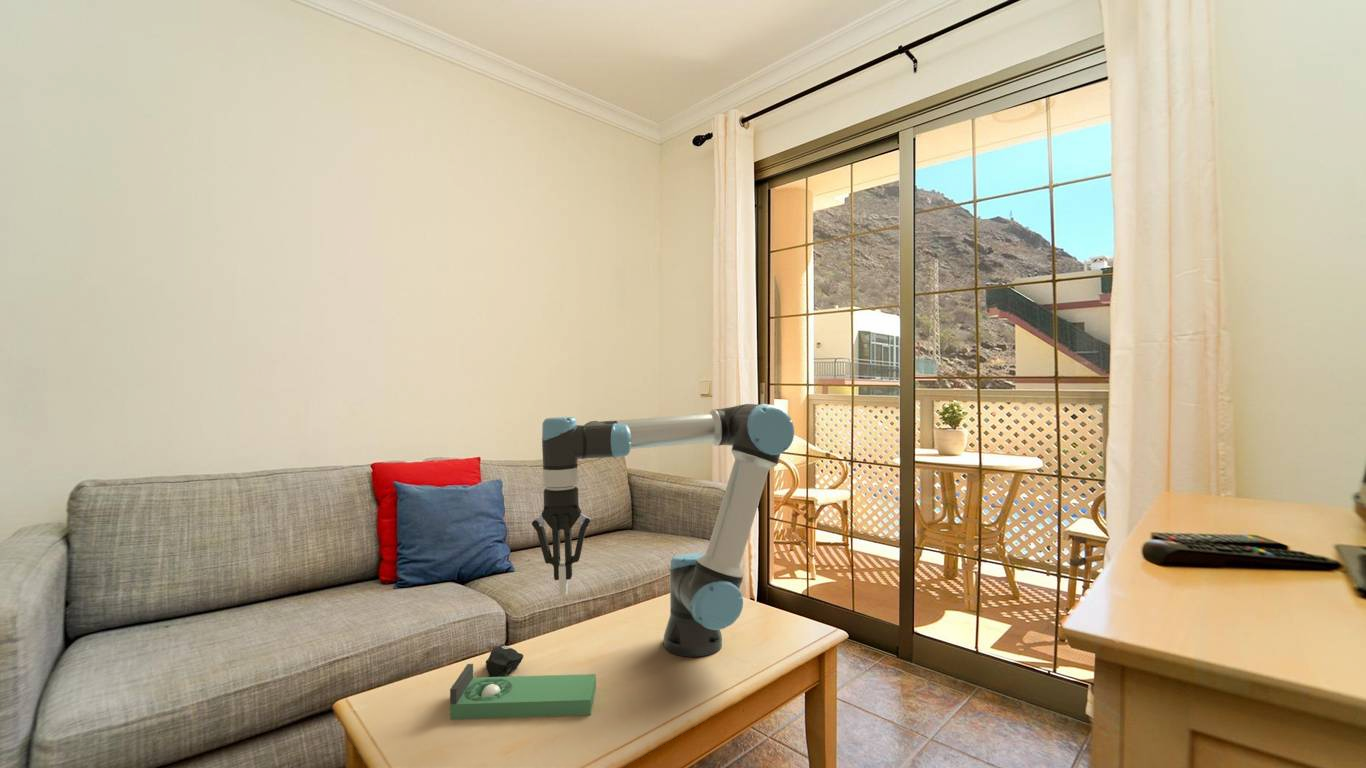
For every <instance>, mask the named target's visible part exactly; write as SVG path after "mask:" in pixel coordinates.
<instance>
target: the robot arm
mask: <svg viewBox="0 0 1366 768" xmlns="http://www.w3.org/2000/svg"><path fill="white" fill-rule="evenodd" d="M541 433H542V434H541V436H542V438H541V447H542V449H541V450H542V451H541V452H542V484H543V487H544V490H543V510H542V512H541V515H540V516H538V518H535V519H534V520H533V521H532V522H531V525H532V527H533V528H534V530H535V532H536V533H537V538H538V541H539V545H540V549H541V552H542V556H543V560H544V562H545V564H547V565H549V564H550V565H552V566H553V579H554V580H555V581H558V592H559V593H558V596H559V597H567V595H568V592H569V590H568V589H569V585H568V581H569V580H572V577H573V564H575V563H578V562H579V561H580V558H581V555H582V554H581V553H582V550H583V544H584V540H585V536H586V532H587V531H586V530H587V528H588V526H589V525H590V523H591V520H592V518H591V516H590V515H585V514H584V513H582V510H581V507H580V506H579V488H578V487H577V485H578V484H579V474H578V473H579V472H578V471H579V469H578V460H579V459H580V460H585V459H600V458H601V459H602V458H603V459H604V458H615V459H616V458H618V457H619V458H620V457H627V456H629V454H630V452H631V450H637V449H647V448H648V449H649V448H659V447H660V448H661V447H671V446H672V447H673V446H682V445H693V444H694V445H697V444H706V443H711V445H713V446H715V447H716V446H718V447H719V446H732V447H731V454H732V455H733V457H734V462H733V464H732V468H731V471H730V475H729V478H728V481H727V485H726V487H725V491H724V494H723V496H722V500H721V504H720V507H719V510H718V514H717V516H716V520H715V523H714V527H713V529H712V533H711V536H710V540H709V543H708V546H707V549H706V552H705V553H702V552H701V553H685V554H683V553H682V554H678V555H675V556H673V557H672V558H671V559H670V563H669V564H670V565H669V566H670V568H669V571H670V573H669V578H670V579H669V584H670V585H669V586H670V587H669V588H670V592H669V593H670V596H669V598H670V603H669V604H670V605H669V606H670V609H669V610H670V611H669V612H670V614H669V618H668V620H667V621H668V622H667V625H666V627H665V630H664V634H663V647H664V649H665V650H666V651H668V652H669V653H671V654H674V655H677V656H681V657H688V658H689V657H693V658H697V657H704V656H705V657H706V656H709V655H712V654H715V653H716V652H718V651H720V649H721V648H722V646H723V636H722V635H723V634H722V632H721V630H724V629H726V628H728V627H729V626H731V625H733V624H734V623H735V622H736V621H737V620H738V619H739V617H740V615H741V613H742V611H743V608H744V607H743V606H744V598H743V595H742V592H741V590H740V589H741V585H742V583H743V578H744V576H745V575H744V573H743V571H742V569H741V563H742V560H743V556H744V553H745V550H746V547H747V543H748V540H749V536H750V533H751V530H752V527H753V523H754V519H755V516H756V514H757V510H758V507H759V503H760V501H761V497H762V493H763V491H764V487H765V484H766V480H767V477H768V473H769V472H770V470H771V469H772V468H775V467H777V466H778V462H779V461H780V460H779V459H780V456H781V454H783V453H785V451H786V450H788V449H789V448H790V446H791V445H792V443H793V441H794V436H795V427H794V423H793V421H792V418H791V417H790V415H789V414H788V413H787V411H786V410H784V409H783V408H781V407H779V406H776V405H773V404H769V403H762V404H754V403H745V404H739V405H734V406H730V407H725V408H717V409H716V408H715V409H714V408H713V409H711V410H710V411H709V412H708V413H699V414H684V415H683V414H682V415H673V416H657V417H644V418H632V419H617V420H604V421H602V420H601V421H598V420H592V421H590V420H589V421H588V422H586V423H585V424H583V425H581V424H578V423H577V419H576V417H573V416H565V417H563V416H561V417H560V416H559V417H558V416H557V417H548V418H545V419H544V420H543V421H542V432H541ZM578 520H579V521H578ZM576 522H579V525H581V526H580V529H579V532H578V537H577V541H576V546H575V549H574V550H575V551H574V555H573V551H572V550H573V546H572V545H573V544H572V543H573V542H572V531H573V530H572V528H573V527H574V525H576ZM545 523H546V524H547V526H548V527H549V528H550V529H552V530H551V533H552V534H551V535H552V551H551V548H550V544H549V540H548V538H547V534H546V530H545V527H544V525H545ZM561 530H563V534H564V562H561V560H562V559H561V536H560V535H561V534H560V533H561Z"/></svg>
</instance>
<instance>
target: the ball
mask: <svg viewBox="0 0 1366 768" xmlns="http://www.w3.org/2000/svg"><path fill="white" fill-rule="evenodd" d="M500 691H501V689H500V687H499V686H498V685H496V684H489V685H487V686H486V687H485V688H484V689H483V691H482V694H481V696H491V695H494V694H496V693H498V692H500Z"/></svg>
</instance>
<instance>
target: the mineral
mask: <svg viewBox="0 0 1366 768" xmlns="http://www.w3.org/2000/svg"><path fill="white" fill-rule="evenodd" d="M523 660H524V654H523V653H520V652H518V650H516V649H514V648H512V647H511V646H508V645H505V644H500V645H498V646H495V647H493V649H492V650H491V652H490V654H489V657H488V658H487V659H486V660H485V667H486V668H485V669H486V671H487V675H488V677H507V676H509V675H510V674H511V673H513V672H514V671H515V670H517V668H518V666H520V664H521V662H522V661H523Z"/></svg>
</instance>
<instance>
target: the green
mask: <svg viewBox="0 0 1366 768" xmlns="http://www.w3.org/2000/svg"><path fill="white" fill-rule="evenodd" d="M489 684H496V685H498V686H499V687H500V689H501V691H500V692H498V693H496V694H494V695H491V696H481V694H482V691H483V689H484V688H485V687H486V686H487V685H489ZM596 688H597V674H596V673H589V674H588V673H587V674H586V673H585V674H583V673H582V674H558V675H557V674H553V675H521V676H520V675H515V676H505V677H489V676H484V677H483V676H480V677H474V663H467V664H466V665H465V667H464V668H463V670H462V671H461V673H460V674H459V676H458V677H457V679H456V680H455V682H454V683H453V684H452V686H451V688H450V689H449V690H450V692H449V695H450V697H449V699H450V700H449V704H450V705H449V712H450V713H449V720H471V719H472V720H473V719H499V718H500V719H501V718H502V719H503V718H504V719H505V718H530V717H531V718H536V717H537V718H538V717H539V718H540V717H563V716H565V717H566V716H567V717H568V716H571V717H572V716H591V713H592V710H593V705H594V701H595V700H594V699H595V694H596Z"/></svg>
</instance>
